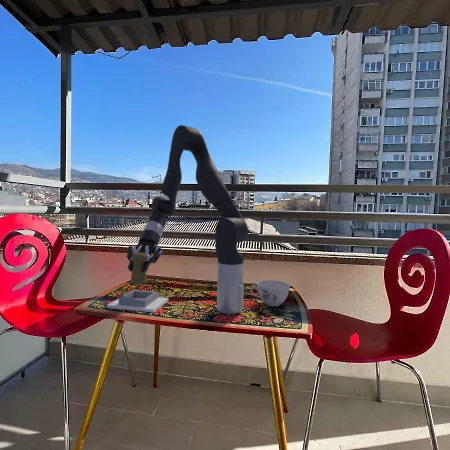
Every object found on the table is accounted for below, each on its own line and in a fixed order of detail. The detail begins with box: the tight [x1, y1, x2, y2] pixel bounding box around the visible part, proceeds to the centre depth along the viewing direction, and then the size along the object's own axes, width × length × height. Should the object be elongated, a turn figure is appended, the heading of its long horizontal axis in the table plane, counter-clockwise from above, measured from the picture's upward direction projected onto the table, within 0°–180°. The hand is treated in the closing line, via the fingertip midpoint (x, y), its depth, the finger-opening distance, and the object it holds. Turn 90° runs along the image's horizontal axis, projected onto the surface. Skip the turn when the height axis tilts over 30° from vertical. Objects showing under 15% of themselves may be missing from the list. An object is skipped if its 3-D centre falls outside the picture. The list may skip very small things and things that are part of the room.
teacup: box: [249, 279, 291, 307], centre depth 107 cm, size 15×12×8 cm
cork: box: [130, 252, 148, 285], centre depth 103 cm, size 6×6×11 cm
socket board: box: [106, 289, 169, 313], centre depth 104 cm, size 18×13×4 cm
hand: (136, 270), depth 101 cm, fingers closed on cork, 4 cm apart
